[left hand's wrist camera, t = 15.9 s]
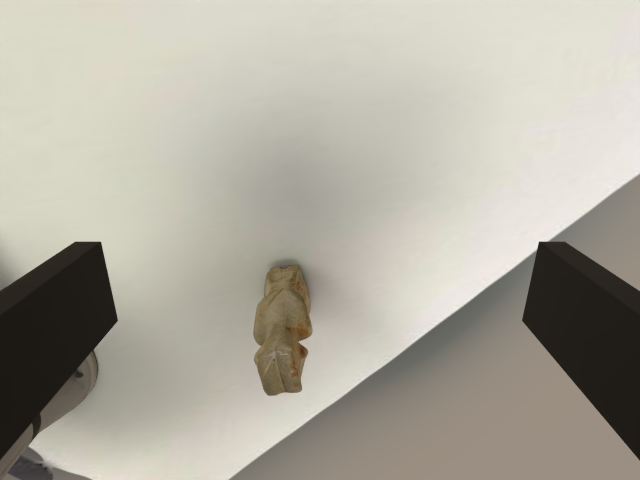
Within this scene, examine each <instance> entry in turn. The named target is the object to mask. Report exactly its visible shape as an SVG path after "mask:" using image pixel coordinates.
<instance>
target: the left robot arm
mask: <svg viewBox="0 0 640 480" xmlns="http://www.w3.org/2000/svg"><path fill="white" fill-rule="evenodd" d="M117 321H118V319H117V314H116V310H115V305H114V300H113V296H112V291H111V286H110V282H109V277H108V272H107V268H106V263H105V259H104V254H103V249H102V245H101V242H74V243H73V244H71V245H70V246H68V247H67V248H65V249H64V250H62V251H61V252H59V253H58V254H56V255H55V256H53V257H51V258H50V259H48V260H47V261H45V262H44V263H42V264H41V265H39V266H38V267H36V268H35V269H33V270H32V271H30V272H29V273H27V274H26V275H24V276H23V277H21V278H20V279H18V280H17V281H15V282H14V283H12V284H11V285H9V286H8V287H6V288H4V289H3V290H1V291H0V480H2V479H3V477H4V476H5V475H6V474H7V472H8V471H9V470H10V468H11V467H12V466H13V465H14V463H15V462H16V461H17V460H18V458H19V457H20V456H21V454H22V453H23V452H24V451H25V449H26V448H27V447H28V446H29V444H30V443H31V442H32V440H33V439H34V438H35V437H36V436H37V434H38V433H39V432H41V431H42V430H44V429H45V428H46V427H48V426H49V425H51V424H52V423H54V422H55V421H57V420H58V419H60V418H61V417H62V416H64V415H65V414H67V413H68V412H70V411H71V410H73V409H74V408H75V407H76V406H77V405H79V404H80V403H81V402H82V401H83V400H84V399H85V397H86V396H87V395H88V393H89V392H90V390H91V389H92V387H93V386H94V384H95V381H96V377H97V364H96V359H95V356H94V354H93V350H94V348H95V347H96V346H97V345H98V344H99V342H100V341H101V340H102V339H103V338H104V336H105V335H106V334H107V333H108V332H109V331H110V329H111V328H112V327H113V326H114V325H115V323H116V322H117ZM522 321H523V322H524V323H525V325H526V326H527V327H528V328H529V329H530V331H531V332H532V333H533V334H534V335H535V336H536V338H537V339H538V340H539V341H540V342H541V344H542V345H543V346H544V347H545V348H546V349H547V351H548V352H549V353H550V354H551V356H552V357H553V358H554V359H555V360H556V361H557V363H558V364H559V365H560V366H561V367H562V368H563V370H564V371H565V372H566V373H567V375H568V376H569V377H570V378H571V379H572V380H573V382H574V383H575V384H576V385H577V386H578V388H579V389H580V390H581V391H582V392H583V393H584V395H585V396H586V397H587V398H588V399H589V401H590V402H591V403H592V404H593V405H594V407H595V408H596V409H597V410H598V411H599V412H600V414H601V415H602V416H603V417H604V418H605V420H606V421H607V422H608V423H609V424H610V426H611V427H612V428H613V429H614V430H615V432H616V433H617V434H618V435H619V436H620V437H621V439H622V440H623V441H624V442H625V443H626V445H627V446H628V447H629V448H630V449H631V451H632V452H633V453H634V454H635V455H636V456H637V458H638V459H639V460H640V291H639V290H637V289H636V288H634V287H632V286H631V285H629V284H628V283H626V282H625V281H623V280H622V279H620V278H619V277H617V276H616V275H614V274H613V273H611V272H610V271H608V270H607V269H605V268H604V267H602V266H601V265H599V264H598V263H596V262H595V261H593V260H592V259H590V258H588V257H587V256H585V255H584V254H582V253H581V252H579V251H578V250H576V249H575V248H573V247H572V246H570V245H569V244H567V243H566V242H539V245H538V249H537V254H536V259H535V263H534V268H533V273H532V277H531V282H530V286H529V291H528V296H527V300H526V305H525V310H524V314H523V319H522Z"/></svg>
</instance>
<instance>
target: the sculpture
mask: <svg viewBox="0 0 640 480" xmlns="http://www.w3.org/2000/svg"><path fill="white" fill-rule="evenodd" d="M309 313H310V297H309V294H308V290H307V288H306V285H305V282H304V279H303V276H302V273H301V269H300V267H299V266H298V265H291V266H288V267H287V268H284V269H281V268H280V267H275V268H271V269H270V272H268V274H267V277H266V281H265V288H264V299H263V300H262V301H261V302H260V303H259V304H258V306H257V310H256V317H255V324H254V338H255V341H256V342H257V343H258V344H259V345H261V348H260V349H259V350H258V351H257V353H256V354H255V357H254V362H255V364H256V365H257V369H258V373H259V376H260V379H261V382H262V386H263V389H264V391H265V392H266V394H267V395H269V396H271V395H278V394H280V393H283V392H288V393H297V392H300V391H301V390H302V385H301V375H302V370H303V366H304V361H305V358H306V357H307V354H308V350H307V349H306V348H305V347H304V346H302V345H301V344H300V343H298V342H299V341H301V340H304V339H306V338H308V337H309V336H311V334H312V326H311V321H310V318H309Z"/></svg>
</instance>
